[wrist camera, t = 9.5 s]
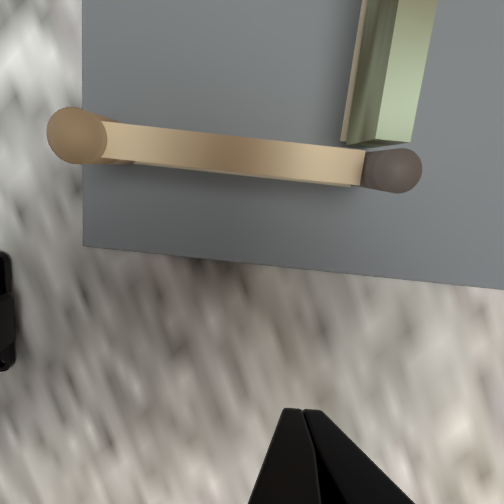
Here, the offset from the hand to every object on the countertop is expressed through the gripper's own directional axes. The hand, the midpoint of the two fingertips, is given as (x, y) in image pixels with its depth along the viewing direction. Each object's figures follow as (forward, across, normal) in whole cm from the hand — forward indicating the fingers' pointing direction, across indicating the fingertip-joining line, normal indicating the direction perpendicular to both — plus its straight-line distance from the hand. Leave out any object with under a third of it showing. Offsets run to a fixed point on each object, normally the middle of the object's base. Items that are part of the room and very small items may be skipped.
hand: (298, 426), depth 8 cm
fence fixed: (+10, +2, -6) cm, 12 cm away
